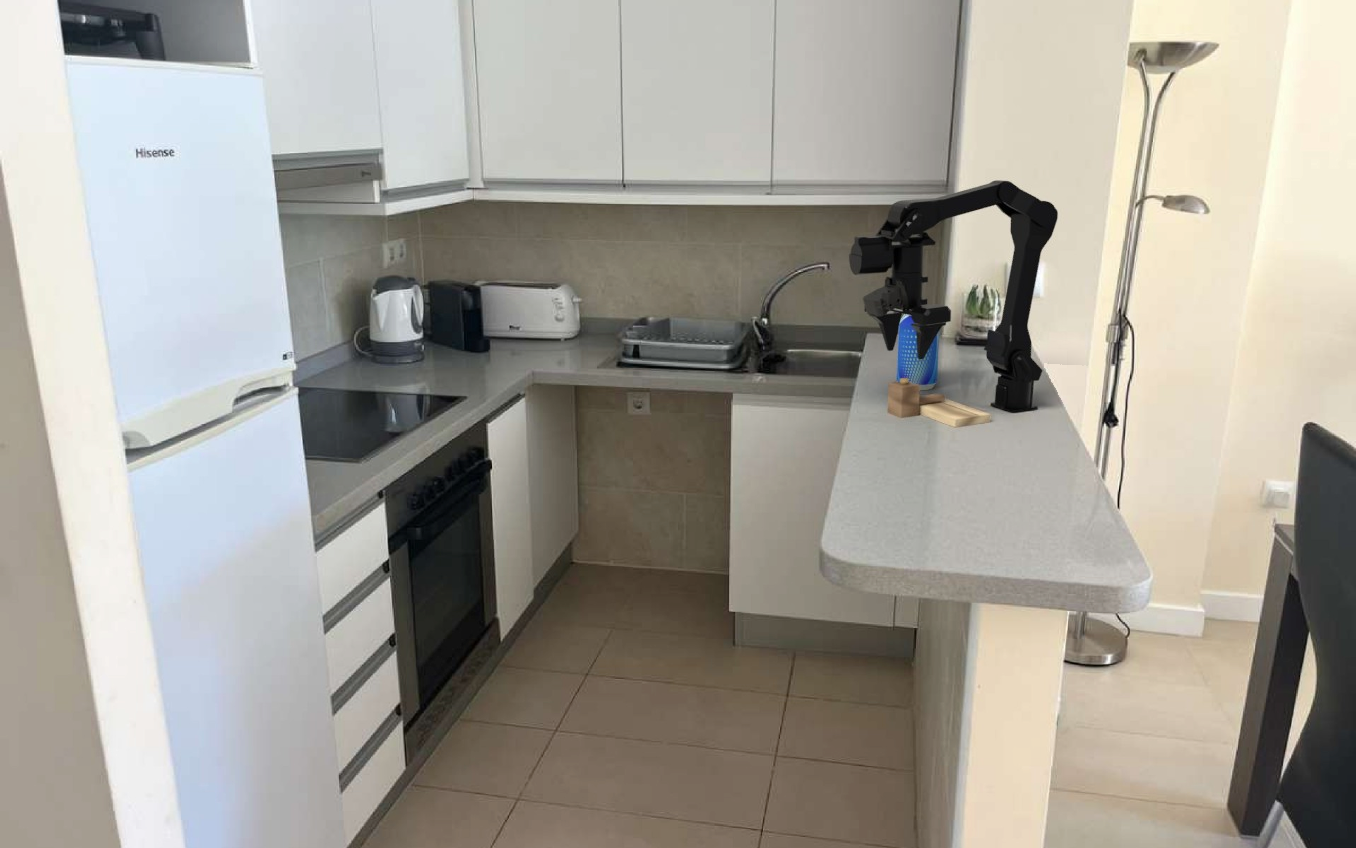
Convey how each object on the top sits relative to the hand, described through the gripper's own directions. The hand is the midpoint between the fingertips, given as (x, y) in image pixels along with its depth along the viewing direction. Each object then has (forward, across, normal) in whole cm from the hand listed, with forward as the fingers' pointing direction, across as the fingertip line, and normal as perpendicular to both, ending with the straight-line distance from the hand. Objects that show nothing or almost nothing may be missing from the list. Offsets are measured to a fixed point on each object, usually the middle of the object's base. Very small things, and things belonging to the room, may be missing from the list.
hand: (905, 354), depth 187 cm
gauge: (+12, -2, +4) cm, 13 cm away
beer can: (+13, -18, +17) cm, 28 cm away
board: (+12, +2, +8) cm, 15 cm away
